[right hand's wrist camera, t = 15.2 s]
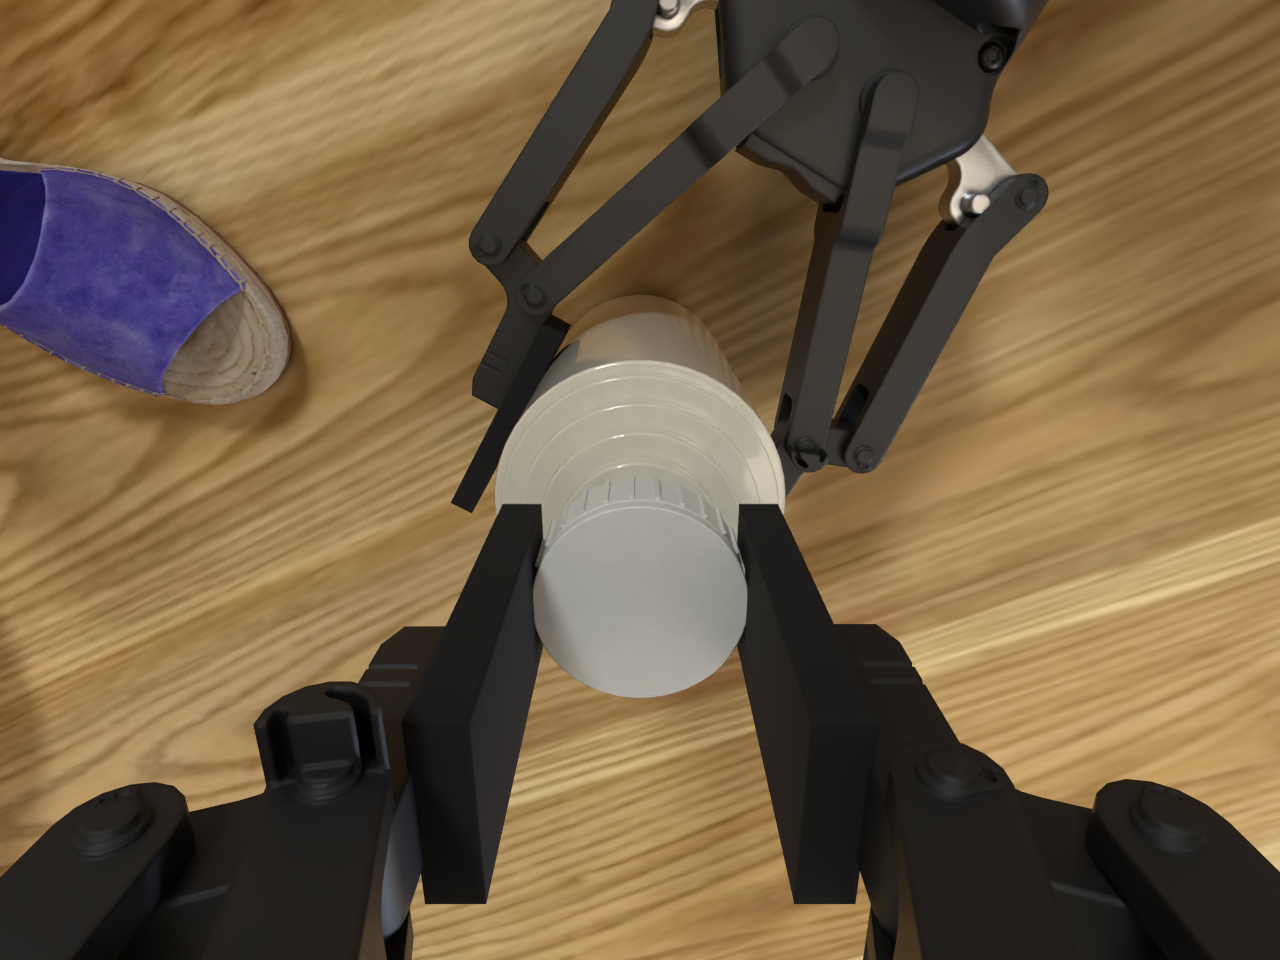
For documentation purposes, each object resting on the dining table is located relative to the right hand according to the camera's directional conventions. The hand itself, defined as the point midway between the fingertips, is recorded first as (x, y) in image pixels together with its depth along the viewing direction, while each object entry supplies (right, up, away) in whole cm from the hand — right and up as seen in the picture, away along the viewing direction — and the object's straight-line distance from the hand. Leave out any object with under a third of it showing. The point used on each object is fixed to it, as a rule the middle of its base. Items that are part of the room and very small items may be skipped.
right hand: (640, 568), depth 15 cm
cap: (0, 0, -1) cm, 1 cm away
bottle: (0, +6, +16) cm, 17 cm away
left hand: (-2, 0, +11) cm, 12 cm away
